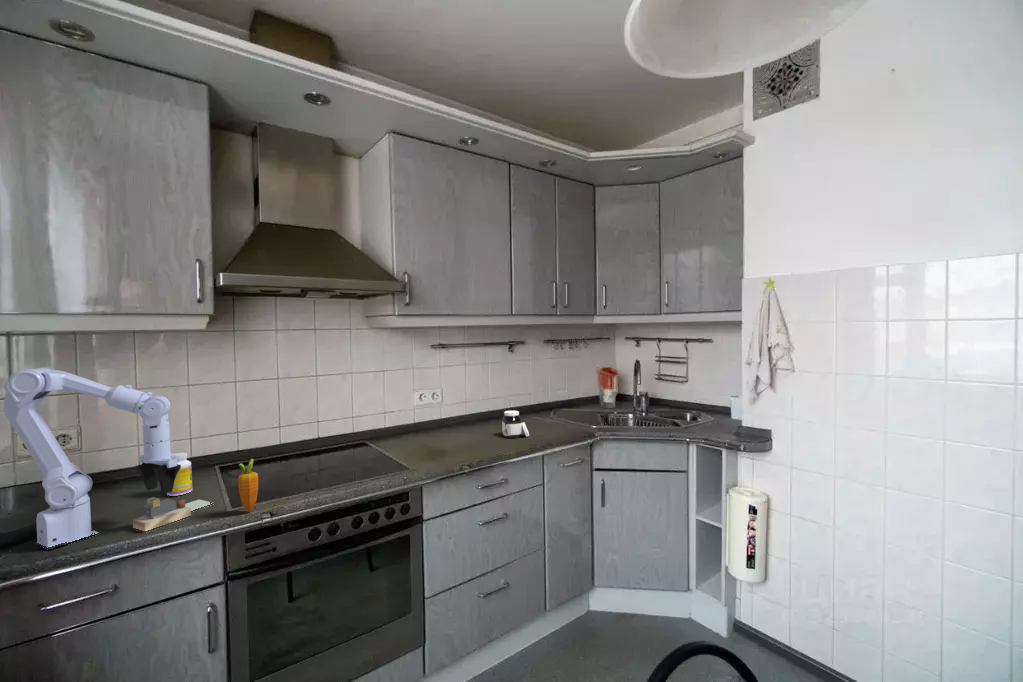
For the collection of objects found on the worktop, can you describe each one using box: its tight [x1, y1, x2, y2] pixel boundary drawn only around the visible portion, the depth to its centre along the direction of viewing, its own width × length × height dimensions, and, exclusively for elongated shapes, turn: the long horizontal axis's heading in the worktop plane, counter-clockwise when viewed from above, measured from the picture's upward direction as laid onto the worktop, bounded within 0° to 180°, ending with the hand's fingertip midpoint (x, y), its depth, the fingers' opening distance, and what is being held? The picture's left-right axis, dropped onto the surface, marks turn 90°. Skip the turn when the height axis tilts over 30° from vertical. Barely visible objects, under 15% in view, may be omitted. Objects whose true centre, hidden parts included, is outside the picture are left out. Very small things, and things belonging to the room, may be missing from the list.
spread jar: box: [501, 410, 530, 439], centre depth 212 cm, size 12×11×12 cm
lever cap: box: [142, 496, 177, 518], centre depth 123 cm, size 6×4×4 cm, turn 153°
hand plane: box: [132, 498, 192, 531], centre depth 124 cm, size 11×6×4 cm, turn 153°
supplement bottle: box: [166, 452, 193, 497], centre depth 147 cm, size 7×7×13 cm
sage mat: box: [185, 499, 213, 512], centre depth 135 cm, size 8×8×1 cm
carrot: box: [237, 458, 259, 513], centre depth 129 cm, size 5×5×15 cm
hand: (159, 490), depth 123 cm, fingers open, 7 cm apart
